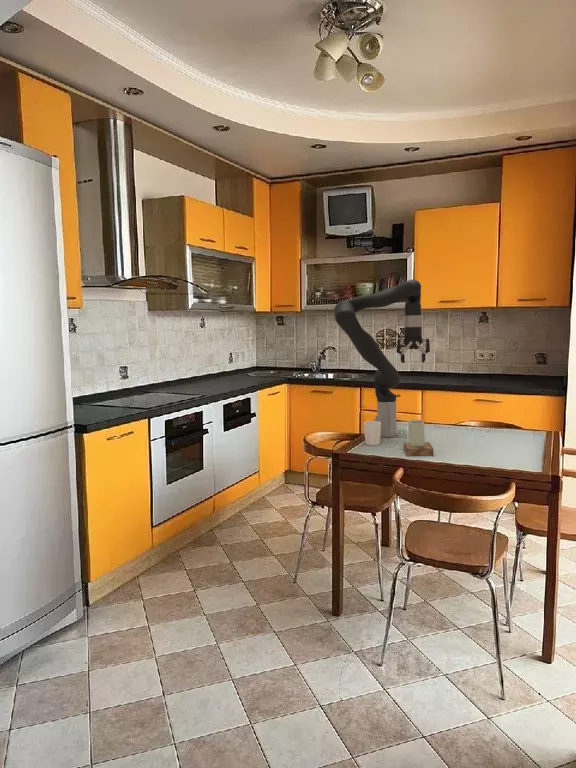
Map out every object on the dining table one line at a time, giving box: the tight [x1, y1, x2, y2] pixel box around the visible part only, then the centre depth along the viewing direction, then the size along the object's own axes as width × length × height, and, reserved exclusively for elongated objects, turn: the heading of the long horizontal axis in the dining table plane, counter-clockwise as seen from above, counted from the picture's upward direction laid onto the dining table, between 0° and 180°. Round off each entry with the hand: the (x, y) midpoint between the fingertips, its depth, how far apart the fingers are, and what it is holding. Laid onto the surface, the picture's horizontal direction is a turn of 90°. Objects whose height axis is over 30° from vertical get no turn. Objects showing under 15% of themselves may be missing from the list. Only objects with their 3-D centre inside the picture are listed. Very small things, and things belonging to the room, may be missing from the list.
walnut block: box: [403, 441, 434, 457], centre depth 245 cm, size 11×11×4 cm
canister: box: [408, 418, 425, 447], centre depth 245 cm, size 5×5×11 cm
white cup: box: [363, 420, 381, 446], centre depth 264 cm, size 8×8×10 cm
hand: (413, 362), depth 252 cm, fingers open, 8 cm apart
